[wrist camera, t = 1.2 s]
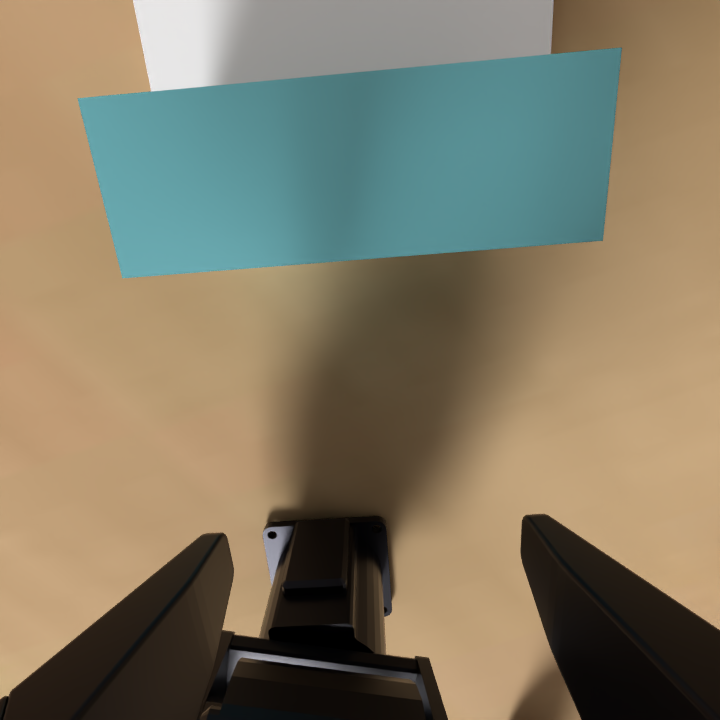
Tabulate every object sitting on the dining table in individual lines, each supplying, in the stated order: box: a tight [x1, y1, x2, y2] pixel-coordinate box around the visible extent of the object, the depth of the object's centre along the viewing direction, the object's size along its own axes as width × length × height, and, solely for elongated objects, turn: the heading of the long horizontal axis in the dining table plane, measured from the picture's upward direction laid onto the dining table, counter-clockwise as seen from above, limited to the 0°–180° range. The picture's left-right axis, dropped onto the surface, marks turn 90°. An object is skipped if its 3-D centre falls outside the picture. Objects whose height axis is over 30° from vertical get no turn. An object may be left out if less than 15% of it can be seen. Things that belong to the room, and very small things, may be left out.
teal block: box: [78, 48, 622, 278], centre depth 14 cm, size 4×12×8 cm, turn 95°
